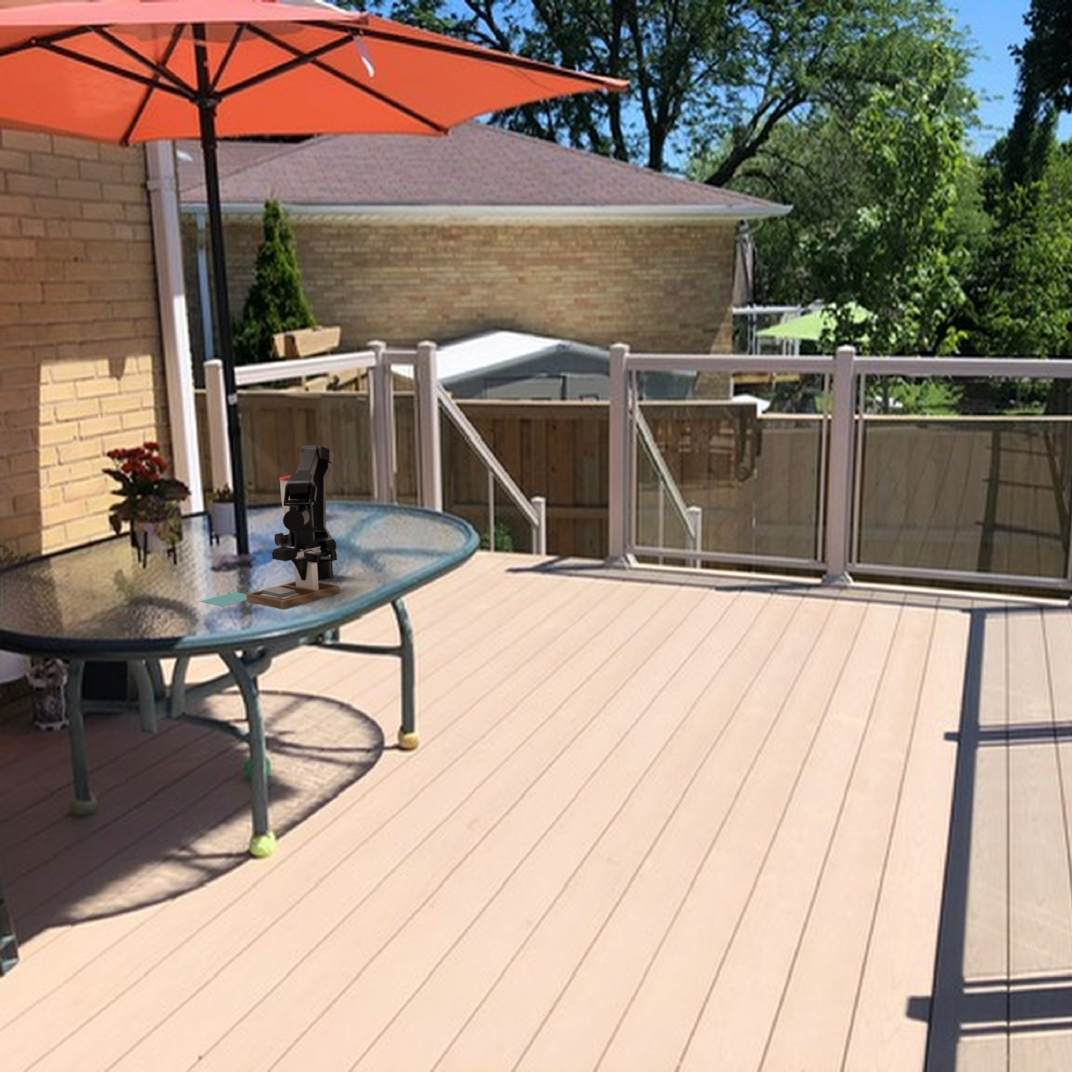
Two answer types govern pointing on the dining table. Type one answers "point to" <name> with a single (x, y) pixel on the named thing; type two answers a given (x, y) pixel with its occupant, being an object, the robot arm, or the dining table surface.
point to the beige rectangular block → (308, 577)
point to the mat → (226, 599)
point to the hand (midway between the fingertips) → (306, 579)
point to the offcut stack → (279, 593)
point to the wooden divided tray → (303, 597)
